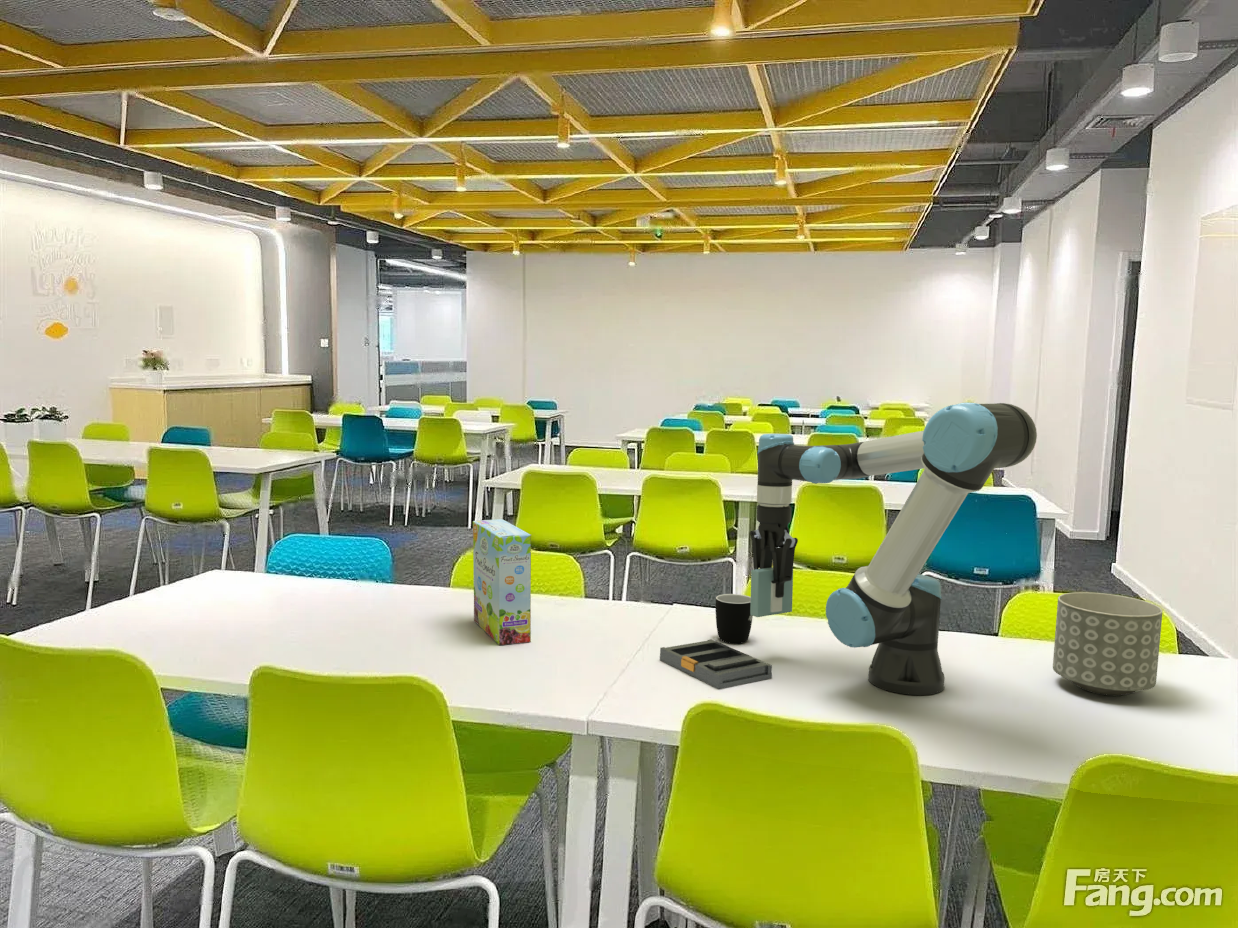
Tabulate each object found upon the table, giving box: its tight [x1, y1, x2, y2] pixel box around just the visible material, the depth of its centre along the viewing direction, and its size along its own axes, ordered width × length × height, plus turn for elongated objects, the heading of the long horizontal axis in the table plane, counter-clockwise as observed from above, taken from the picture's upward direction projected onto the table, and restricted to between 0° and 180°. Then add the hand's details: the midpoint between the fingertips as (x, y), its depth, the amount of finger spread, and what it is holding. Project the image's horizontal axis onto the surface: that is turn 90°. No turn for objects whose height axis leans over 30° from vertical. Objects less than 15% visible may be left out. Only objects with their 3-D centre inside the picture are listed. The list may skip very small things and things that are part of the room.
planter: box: [1052, 591, 1164, 697], centre depth 192 cm, size 19×19×18 cm
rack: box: [659, 638, 773, 690], centre depth 199 cm, size 21×14×4 cm
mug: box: [715, 593, 754, 645], centre depth 222 cm, size 12×9×10 cm
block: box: [750, 566, 794, 618], centre depth 205 cm, size 2×10×10 cm, turn 122°
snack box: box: [472, 518, 532, 646], centre depth 222 cm, size 22×9×26 cm, turn 25°
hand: (771, 609), depth 206 cm, fingers closed on block, 2 cm apart
